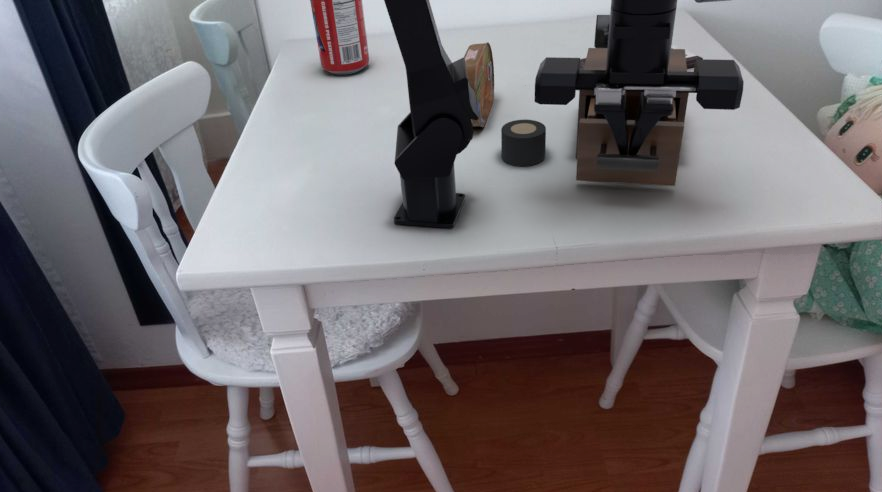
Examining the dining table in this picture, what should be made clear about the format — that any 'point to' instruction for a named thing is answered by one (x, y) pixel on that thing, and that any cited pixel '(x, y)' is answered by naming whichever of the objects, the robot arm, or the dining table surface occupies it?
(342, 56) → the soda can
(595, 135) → the drawer
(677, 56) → the cabinet
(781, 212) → the dining table surface
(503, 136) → the tape
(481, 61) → the tin
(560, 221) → the dining table surface
